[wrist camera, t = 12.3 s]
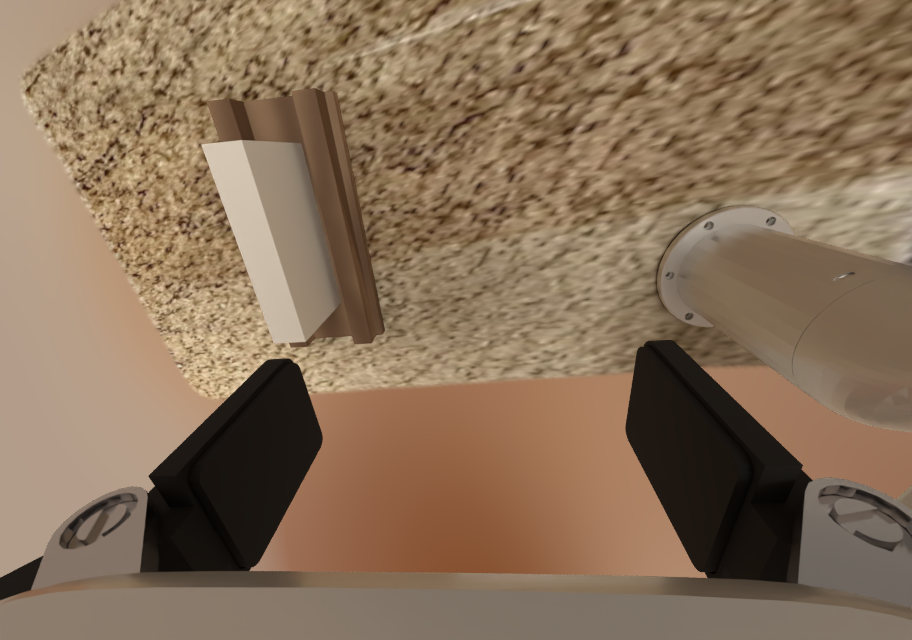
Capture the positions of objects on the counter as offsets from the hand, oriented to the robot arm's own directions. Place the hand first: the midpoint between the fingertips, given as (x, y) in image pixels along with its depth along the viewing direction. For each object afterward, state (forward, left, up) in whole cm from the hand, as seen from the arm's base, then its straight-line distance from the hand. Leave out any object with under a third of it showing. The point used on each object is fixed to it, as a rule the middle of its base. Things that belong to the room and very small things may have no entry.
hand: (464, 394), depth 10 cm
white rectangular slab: (+17, 0, -27) cm, 32 cm away
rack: (+17, 0, -28) cm, 33 cm away
